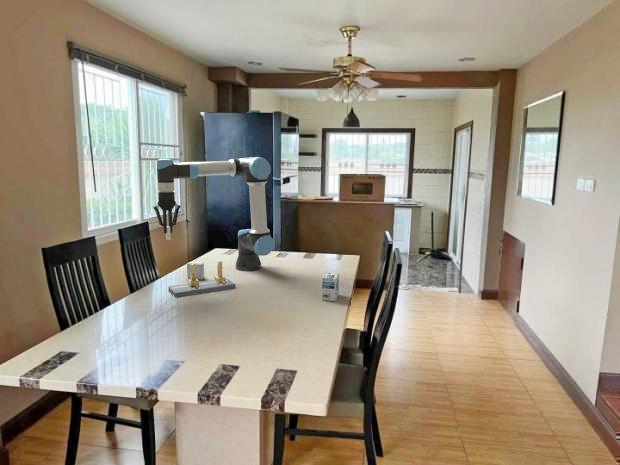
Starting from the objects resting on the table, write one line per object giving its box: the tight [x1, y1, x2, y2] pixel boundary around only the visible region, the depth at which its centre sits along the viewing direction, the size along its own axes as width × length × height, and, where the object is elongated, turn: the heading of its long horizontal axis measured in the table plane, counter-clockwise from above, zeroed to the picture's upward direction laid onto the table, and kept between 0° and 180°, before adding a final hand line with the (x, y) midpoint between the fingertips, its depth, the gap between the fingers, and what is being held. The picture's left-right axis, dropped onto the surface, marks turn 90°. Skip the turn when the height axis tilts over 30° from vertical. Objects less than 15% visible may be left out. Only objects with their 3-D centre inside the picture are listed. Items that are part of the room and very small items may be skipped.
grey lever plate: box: [167, 260, 236, 298], centre depth 217 cm, size 30×12×12 cm, turn 122°
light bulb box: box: [321, 272, 340, 302], centre depth 207 cm, size 11×7×11 cm, turn 168°
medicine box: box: [186, 261, 205, 281], centre depth 236 cm, size 8×4×9 cm, turn 84°
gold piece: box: [187, 263, 200, 288], centre depth 215 cm, size 4×9×10 cm, turn 32°
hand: (168, 239), depth 216 cm, fingers closed
